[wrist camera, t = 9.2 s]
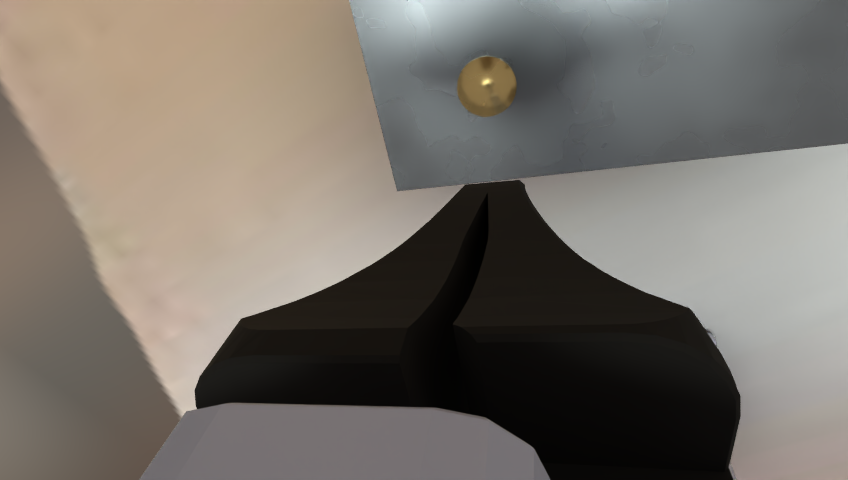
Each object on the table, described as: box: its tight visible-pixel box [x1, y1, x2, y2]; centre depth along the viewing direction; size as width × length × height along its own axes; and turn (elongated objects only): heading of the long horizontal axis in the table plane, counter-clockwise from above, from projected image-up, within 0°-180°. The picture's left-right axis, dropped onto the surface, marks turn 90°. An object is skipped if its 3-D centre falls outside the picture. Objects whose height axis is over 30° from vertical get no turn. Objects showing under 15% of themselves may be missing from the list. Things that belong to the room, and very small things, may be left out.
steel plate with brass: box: [349, 0, 848, 191], centre depth 16 cm, size 7×20×3 cm, turn 102°
